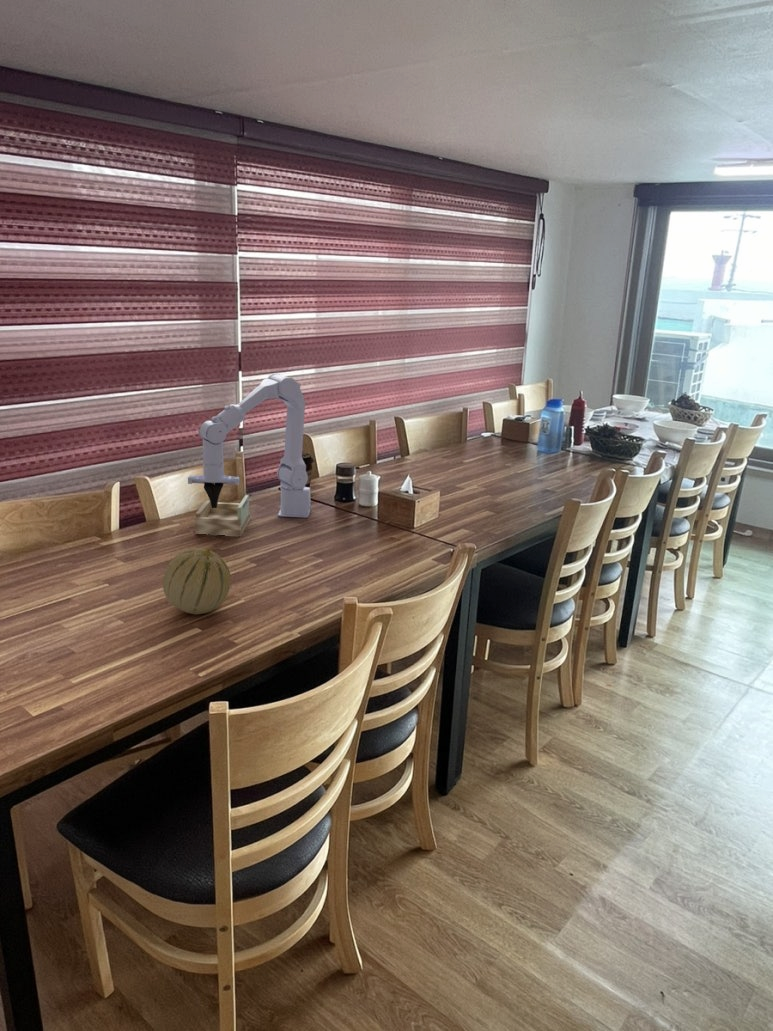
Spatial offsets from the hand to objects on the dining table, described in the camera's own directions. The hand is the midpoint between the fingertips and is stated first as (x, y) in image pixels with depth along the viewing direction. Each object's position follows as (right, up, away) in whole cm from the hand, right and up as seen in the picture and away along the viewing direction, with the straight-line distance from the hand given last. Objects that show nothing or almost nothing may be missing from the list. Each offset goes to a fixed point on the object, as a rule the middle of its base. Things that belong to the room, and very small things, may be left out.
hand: (214, 507), depth 215 cm
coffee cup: (+21, +6, +39) cm, 45 cm away
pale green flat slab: (+9, -4, +1) cm, 10 cm away
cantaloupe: (+8, -24, -50) cm, 56 cm away
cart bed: (+2, -6, +2) cm, 7 cm away
